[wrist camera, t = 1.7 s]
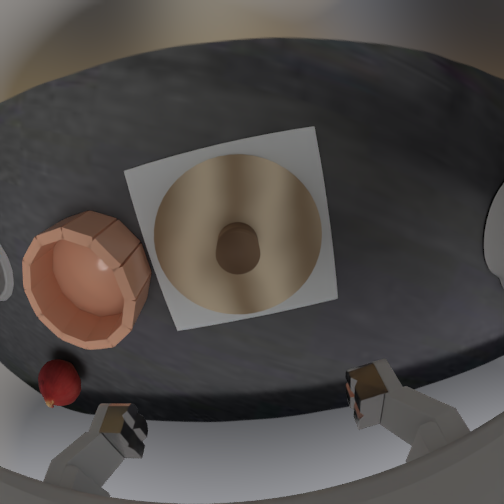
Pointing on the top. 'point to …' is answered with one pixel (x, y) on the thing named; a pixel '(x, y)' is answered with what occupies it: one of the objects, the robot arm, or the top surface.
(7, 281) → the french press
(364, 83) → the top surface
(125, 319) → the bowl
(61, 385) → the pomegranate
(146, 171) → the mat
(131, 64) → the top surface
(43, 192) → the top surface
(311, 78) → the top surface
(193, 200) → the lid
